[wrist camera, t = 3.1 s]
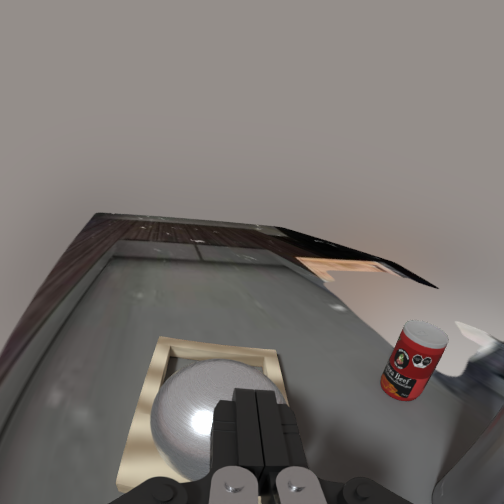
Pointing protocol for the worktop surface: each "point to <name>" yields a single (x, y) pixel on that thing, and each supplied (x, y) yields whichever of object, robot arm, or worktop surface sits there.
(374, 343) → the worktop surface
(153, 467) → the hole board
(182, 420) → the ball
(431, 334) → the canned food
